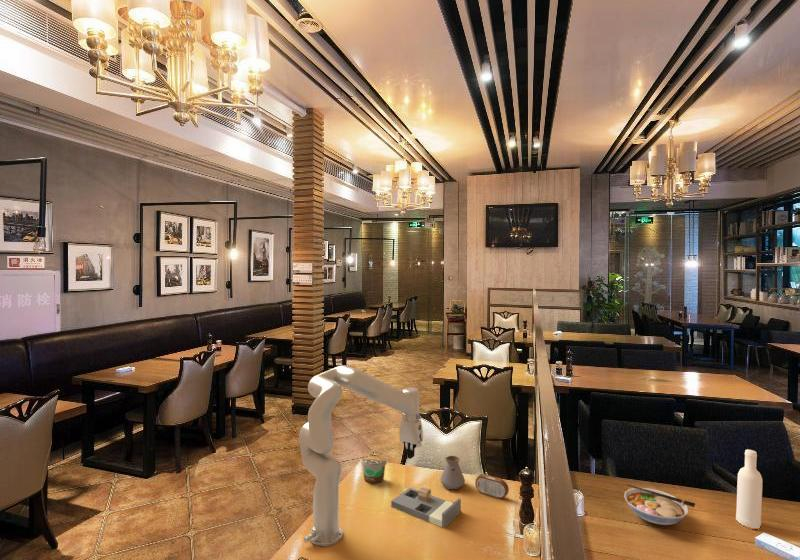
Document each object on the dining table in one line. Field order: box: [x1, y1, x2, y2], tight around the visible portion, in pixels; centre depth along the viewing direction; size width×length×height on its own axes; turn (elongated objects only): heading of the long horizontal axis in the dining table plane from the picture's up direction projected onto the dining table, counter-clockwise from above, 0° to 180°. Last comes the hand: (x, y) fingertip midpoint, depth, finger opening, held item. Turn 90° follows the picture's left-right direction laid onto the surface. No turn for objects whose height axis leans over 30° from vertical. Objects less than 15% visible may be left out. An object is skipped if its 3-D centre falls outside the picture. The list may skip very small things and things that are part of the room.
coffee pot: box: [439, 455, 466, 490], centre depth 202 cm, size 21×12×15 cm, turn 174°
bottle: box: [735, 449, 763, 529], centre depth 177 cm, size 8×8×30 cm
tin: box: [475, 473, 510, 500], centre depth 199 cm, size 15×3×8 cm, turn 58°
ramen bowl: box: [623, 484, 696, 526], centre depth 181 cm, size 25×23×8 cm
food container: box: [361, 457, 388, 485], centre depth 210 cm, size 12×6×10 cm, turn 80°
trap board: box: [390, 487, 462, 529], centre depth 187 cm, size 14×26×6 cm, turn 55°
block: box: [418, 485, 432, 502], centre depth 191 cm, size 4×4×4 cm
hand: (410, 457), depth 195 cm, fingers closed
